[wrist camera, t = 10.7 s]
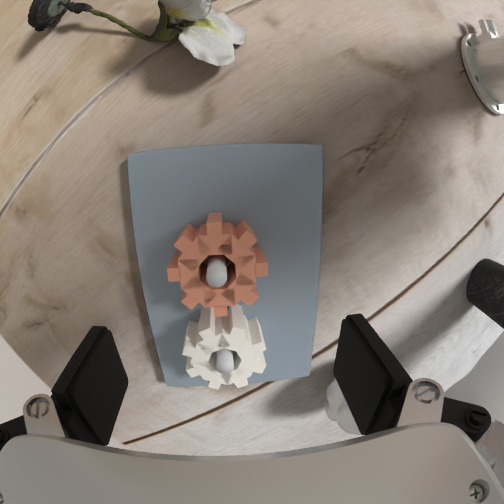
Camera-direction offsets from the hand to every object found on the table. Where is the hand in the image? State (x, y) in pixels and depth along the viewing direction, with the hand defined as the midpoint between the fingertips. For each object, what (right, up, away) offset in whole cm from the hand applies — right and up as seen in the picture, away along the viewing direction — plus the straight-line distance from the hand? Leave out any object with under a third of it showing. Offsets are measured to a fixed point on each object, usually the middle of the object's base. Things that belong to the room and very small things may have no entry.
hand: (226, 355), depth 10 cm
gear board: (-1, +1, +15) cm, 16 cm away
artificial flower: (-10, +26, +7) cm, 29 cm away
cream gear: (-2, -4, +15) cm, 16 cm away
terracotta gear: (-2, +4, +13) cm, 14 cm away
